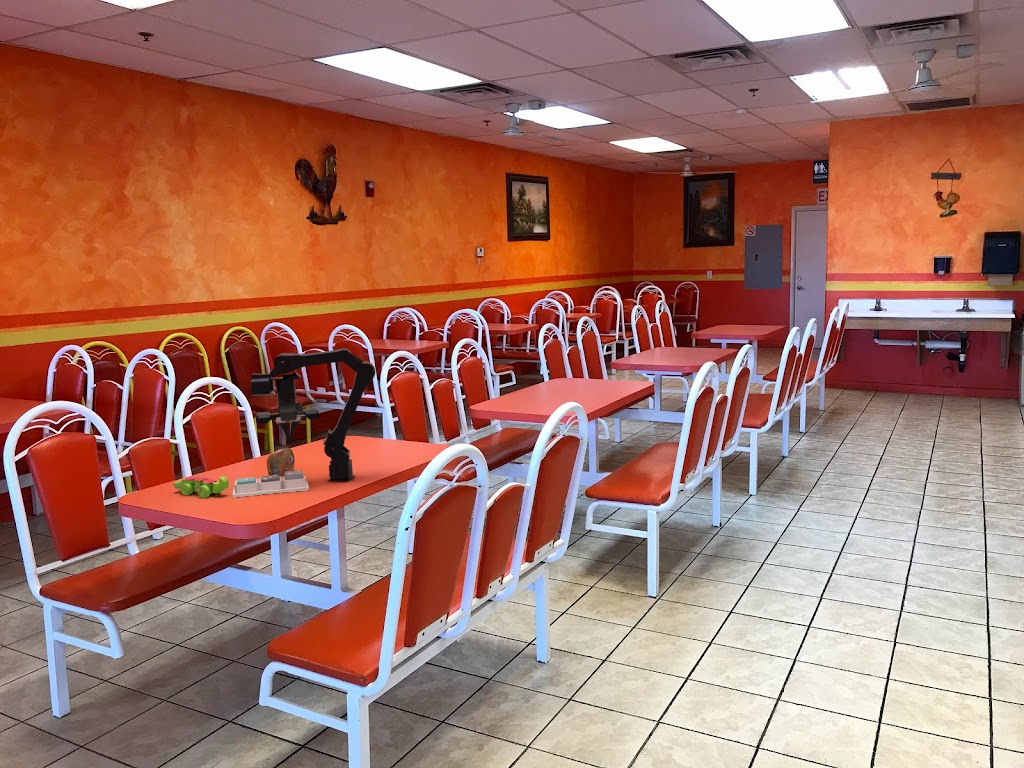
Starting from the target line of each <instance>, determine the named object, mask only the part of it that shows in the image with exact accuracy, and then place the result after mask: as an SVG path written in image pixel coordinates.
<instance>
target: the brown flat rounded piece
mask: <svg viewBox="0 0 1024 768" xmlns="http://www.w3.org/2000/svg"><path fill="white" fill-rule="evenodd" d="M295 462H296V460H295V455H294V452H293V449H291V448H290V447H285V448H279V449H278V450H276V451H274V452H272V453H270V454H269V455H268V457H267V459H266V468H267V469H266V470H267V474H268V476H271V475H279V476H281V477H282V476H284V475H285V472H286V471H294V468H295ZM282 478H283V477H282Z"/></svg>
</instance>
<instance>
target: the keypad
mask: <svg viewBox="0 0 1024 768" xmlns="http://www.w3.org/2000/svg"><path fill="white" fill-rule="evenodd" d="M302 475H303V479H293V480H286V477H285V476H283V477H281V476H279V481H273V482H262V477H260V478H258V477H257V478H256V477H255V483H252V484H242V485H238V484H237V481H238V479H237V480H235V481H234V487H233V488H232V489H233V491H232V498H233V499H237V497H240V498H246V497H245V496H250V497H255V496H254V495H260V496H263V495H262V494H270V495H274V494H273V493H280V494H283V493H282V492H290V493H297V492H296V491H300V492H309V491H310V487H309V484H308V483H309V482H308V480H306V474H305V473H302ZM308 490H309V491H308Z"/></svg>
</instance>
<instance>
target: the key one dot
mask: <svg viewBox="0 0 1024 768" xmlns="http://www.w3.org/2000/svg"><path fill="white" fill-rule="evenodd" d="M255 479H256V477H255V476H250V477H240V478H237V480H238V481H237V484H238V485H242V484H252V483H255Z"/></svg>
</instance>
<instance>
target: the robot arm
mask: <svg viewBox="0 0 1024 768" xmlns="http://www.w3.org/2000/svg"><path fill="white" fill-rule="evenodd" d="M340 362H341V363H342V362H343V363H344V365H346V366H348V367H349V368H350V370H352V371H354V372H355V377H354V380H353V385H352V389H351V391H350V393H349V396H348V398H347V400H346V402H345V405H344V407H343V409H342V411H341V414H340V416H339V419H338V422H337V424H336V426H335V428H334V429H333V430H331V429H328V431H327V435H326V437H325V438H324V440H323V442H322V443H323V445H324V447H323V451H324V453H325V455H326V457H328V458H330V461H329V465H328V475H329V479H328V481H329V482H349V481H351V480H352V479H354V478H356V475H354V474H353V473H354V472H353V460H352V458H351V456H350V455H351V454H350V453H351V451H350V450H349V448H347V446H345V441H346V438H347V437H346V436H347V433H348V429H349V428H350V425H351V423H352V421H353V418H354V416H355V413H356V410H357V408H358V406H359V404H360V401H361V399H362V397H363V395H364V393H365V391H366V389H367V388H368V387H369V386H370V384H371V383H372V381H373V379H374V378H375V375H376V368H375V365H374V363H372V362H370V361H364V360H363V359H361V358H360V357H359V356H357V355H355V354H354V353H353V352H351V351H350V349H348V348H345V347H344V348H340V349H334V350H328V351H327V350H326V351H319V352H312V353H311V352H310V353H293V352H290V353H288V352H283V353H280V354H278V355H277V356H276V357H275V358H274V361H273V368H272V369H271V370H270V371H269V373H252V374H251V377H250V378H251V379H250V392H251V396H253V397H255V396H268V395H269V396H271V395H272V392H275V391H276V401H277V413H270V412H271V411H263V412H257V413H256V423H257V425H265V424H269V423H270V421H275V422H276V426H279V427H281V429H282V430H283V432H284V434H285V437H286V440H287V442H288V444H292V441H293V439H294V434H295V430H296V429H297V426H298V424H301V423H302V422H301V419H302V418H307V419H308V420H309V421H310V420H311V421H312V420H319V419H320V411H319V409H318V408H317V407H312V408H311V407H310V408H305V409H304V410H303V403H297V394H296V380H300V379H301V376H302V375H300V374H299V373H297V371H296V370H299V369H302V368H306V367H311V366H318V365H325V364H326V365H327V364H333V363H340ZM291 372H292V373H291ZM281 374H282V376H280V377H277V376H279V375H281ZM275 389H276V390H275ZM287 421H289V423H290V427H289V429H288V424H287ZM350 458H351V459H350Z"/></svg>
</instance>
